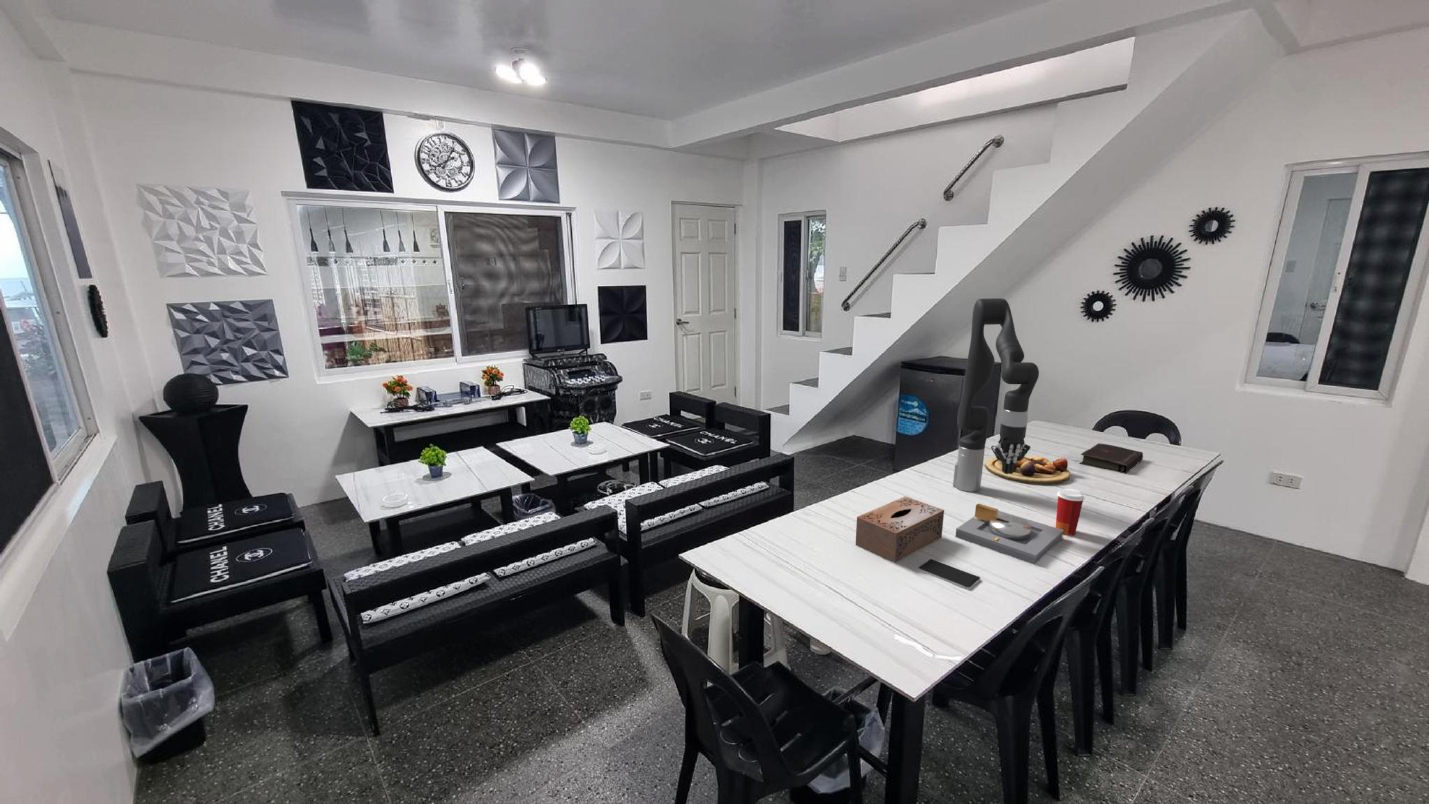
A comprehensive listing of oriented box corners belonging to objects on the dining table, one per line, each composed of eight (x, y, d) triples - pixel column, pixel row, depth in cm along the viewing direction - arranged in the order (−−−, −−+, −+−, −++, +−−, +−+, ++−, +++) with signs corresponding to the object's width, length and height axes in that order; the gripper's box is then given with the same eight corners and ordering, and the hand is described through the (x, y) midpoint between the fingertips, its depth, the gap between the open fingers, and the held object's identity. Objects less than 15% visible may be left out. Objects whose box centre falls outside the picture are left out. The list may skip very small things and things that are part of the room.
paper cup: (1075, 528, 190) (1081, 489, 187) (1081, 538, 183) (1088, 498, 180) (1049, 525, 193) (1054, 486, 189) (1054, 535, 186) (1060, 495, 182)
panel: (955, 536, 185) (956, 527, 184) (986, 515, 201) (987, 506, 200) (1034, 564, 168) (1035, 554, 167) (1062, 538, 183) (1063, 529, 182)
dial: (1036, 531, 183) (1038, 514, 182) (1021, 544, 175) (1024, 526, 174) (983, 515, 195) (984, 499, 194) (967, 526, 188) (969, 509, 186)
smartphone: (930, 558, 171) (981, 576, 160) (930, 561, 171) (980, 580, 160) (917, 568, 165) (968, 588, 155) (917, 571, 166) (968, 592, 155)
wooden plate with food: (1071, 467, 247) (1073, 449, 245) (1069, 491, 221) (1071, 471, 219) (990, 456, 264) (991, 439, 262) (979, 477, 237) (981, 458, 236)
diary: (1142, 462, 254) (1144, 451, 252) (1126, 476, 238) (1128, 464, 236) (1094, 451, 267) (1096, 441, 266) (1076, 464, 251) (1078, 453, 250)
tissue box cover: (894, 563, 169) (896, 533, 167) (855, 545, 181) (856, 516, 178) (941, 538, 185) (944, 510, 182) (903, 523, 196) (905, 496, 193)
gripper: (1002, 427, 179) (996, 478, 184) (1040, 425, 181) (1033, 475, 186) (987, 421, 187) (982, 470, 191) (1024, 418, 189) (1018, 467, 193)
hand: (1007, 473), depth 188 cm, fingers closed
